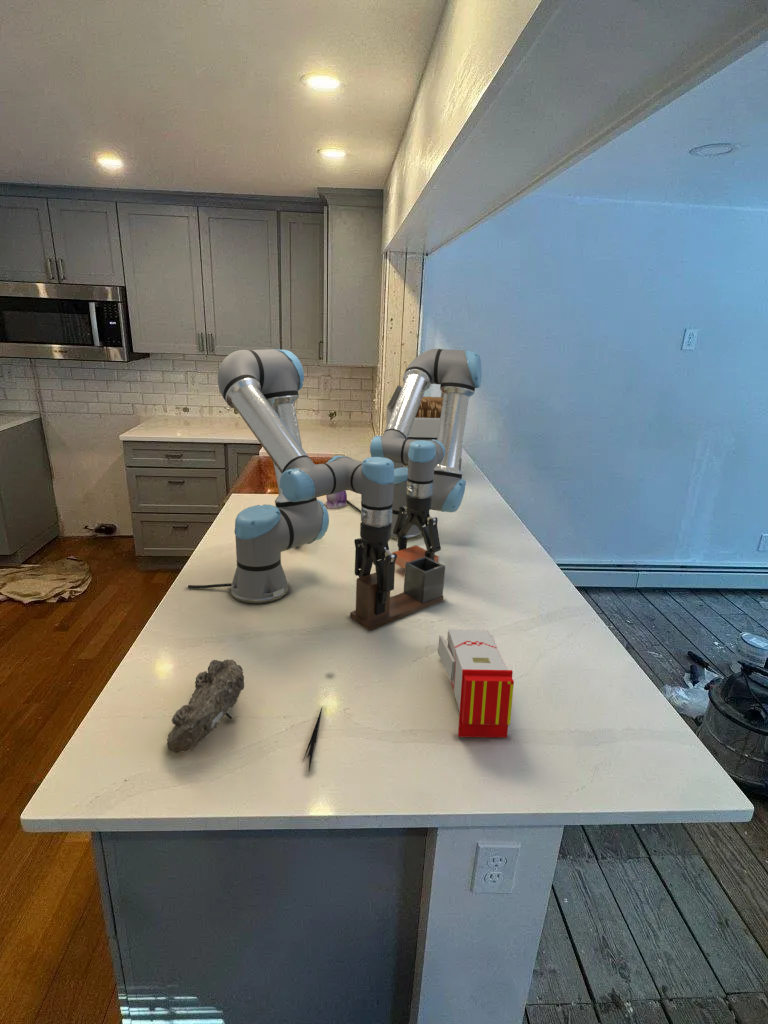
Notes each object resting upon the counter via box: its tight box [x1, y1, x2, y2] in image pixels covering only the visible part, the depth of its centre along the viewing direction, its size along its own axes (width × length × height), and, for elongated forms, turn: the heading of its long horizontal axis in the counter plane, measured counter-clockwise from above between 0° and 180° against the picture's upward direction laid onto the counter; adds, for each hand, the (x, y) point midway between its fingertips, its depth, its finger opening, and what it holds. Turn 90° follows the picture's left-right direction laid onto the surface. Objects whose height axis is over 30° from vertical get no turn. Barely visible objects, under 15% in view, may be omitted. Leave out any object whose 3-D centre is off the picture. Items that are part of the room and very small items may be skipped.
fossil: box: [166, 658, 245, 754], centre depth 106 cm, size 22×10×15 cm
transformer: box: [385, 384, 464, 473], centre depth 268 cm, size 34×33×41 cm
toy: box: [437, 628, 515, 738], centre depth 117 cm, size 12×13×30 cm
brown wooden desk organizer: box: [349, 556, 446, 632], centre depth 148 cm, size 8×26×12 cm, turn 131°
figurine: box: [325, 490, 348, 509], centre depth 223 cm, size 9×10×15 cm
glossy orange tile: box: [391, 545, 440, 570], centre depth 171 cm, size 10×10×4 cm
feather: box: [301, 673, 332, 771], centre depth 108 cm, size 2×28×2 cm
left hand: (372, 607), depth 143 cm, fingers closed on brown wooden desk organizer, 5 cm apart
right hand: (414, 564), depth 171 cm, fingers open, 11 cm apart
